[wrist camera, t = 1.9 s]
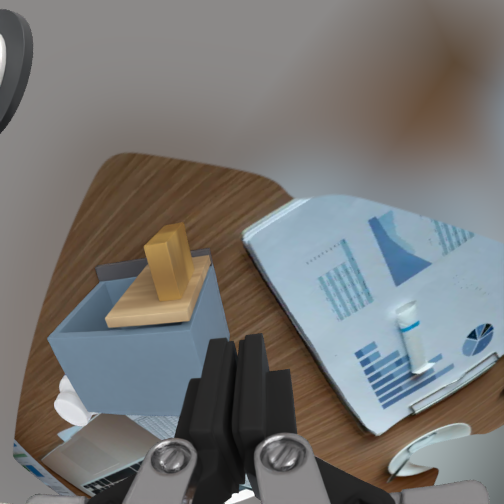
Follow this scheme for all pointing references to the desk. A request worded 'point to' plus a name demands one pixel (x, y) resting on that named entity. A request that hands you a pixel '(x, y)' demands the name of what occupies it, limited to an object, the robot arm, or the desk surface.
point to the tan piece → (163, 283)
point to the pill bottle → (71, 405)
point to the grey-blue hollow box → (136, 347)
